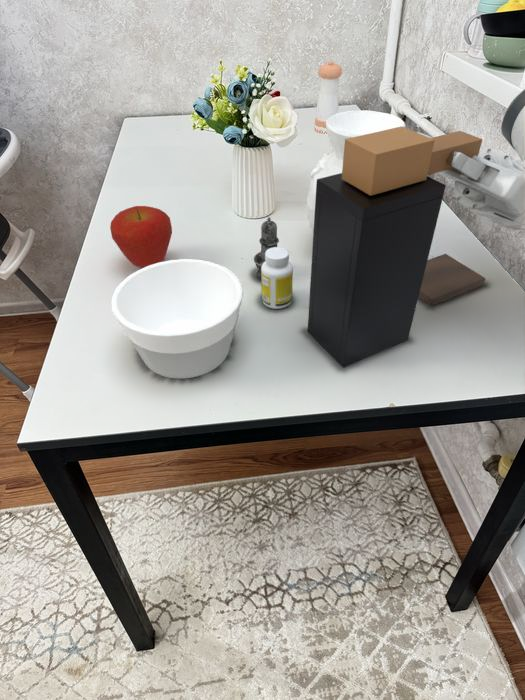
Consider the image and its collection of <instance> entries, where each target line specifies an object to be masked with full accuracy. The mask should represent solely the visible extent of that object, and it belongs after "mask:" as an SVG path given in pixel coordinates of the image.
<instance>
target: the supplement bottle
mask: <svg viewBox="0 0 525 700" xmlns="http://www.w3.org/2000/svg"><path fill="white" fill-rule="evenodd" d="M293 274H294V267H293V264H292V262H290V252H289V250H288V249H287V248H284V247H281V246H277V247H273V248H270V249H268V250H267V251H266V252H265V262H264V263H263V264H262V267H261V279H262V281H261V302H262V303H263V305H264V306H265V307H267V308H270V309H275V310H278V309H279V310H280V309H284V308H288V306H290V304H291V303H292V300H293V276H294V275H293Z"/></svg>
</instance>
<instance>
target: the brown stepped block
mask: <svg viewBox="0 0 525 700" xmlns="http://www.w3.org/2000/svg"><path fill="white" fill-rule="evenodd" d="M417 132H418V131H417ZM417 132H416V131H414V130H412V129H409V128H407V127H405V128H404V127H402V126H401V127H396V128H392V129H388V130H383V131H379V132H375V133H370V134H366V135H361V136H357V137H353V138H348V139H345V146H344V157H343V168H342V179H343V180H344V181H346V182H348V183H350V184H351V185H353V186H355V187H356V188H358V189H360V190H362V191H363V192H365V193H367V194H368V195H370V196H371V195H375V194H379V193H382V192H386V191H389V190H393V189H396V188H400V187H403V186H407V185H410V184H414V183H417V182H421V181H424V180H426V179H427V176H431V175H434V174H439V173H438V172H441V171H445V170H448V169H452V168H454V167H452V166H450V165H449V164H447V163H446V160H447V158H448V157H449V156H450V153H451V151H453V150H455V151H458V152H460V153H463V154H464V155H466V156H467V157H470V158H473V156H475V155H476V156H478V154H479V152H480V151H481V146H482V143H483V138H481V137H478V136H476V135H473V134H470V133H467V132H465V131H463V130H458V131H453V132H450V133H446V134H445V133H444V134H442V135H437V136H433V138H429V137H426V136H424V135H421V134H419V133H417Z"/></svg>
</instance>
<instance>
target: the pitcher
mask: <svg viewBox="0 0 525 700" xmlns="http://www.w3.org/2000/svg"><path fill="white" fill-rule="evenodd" d="M401 126H402V127H404V128H406V123H405V121H404V120H403V119H402V118H400V117H398V116H396V115H394V114H391V113H388V112H381V111H376V110H368V109H366V110H365V109H364V110H362V109H361V110H360V109H359V110H347V111H341V112H338V113H336V114H333V115H331V116H330V117H329V118H328V119H327V120H326V129H327V134H326V135H327V137H328V140H329V143H330V146H331V150H332V151H331V152H330V153H327V152H324V153H323V154H322V156H321V159H319V160H318V162H317V165H316V166H315V167H314V168H313V169H312V170H311V172H310V177H311V180H310V184H309V188H308V193H307V199H306V218H307V221H308V224H309V227H310V231H311V233H312V234H313V232H314V216H315V199H316V184H317V179H320V178H324V177H328V176H332V175H336V174H340V173H342V168H343V157H344V146H345V139H348V138H353V137H357V136H361V135H366V134H370V133H375V132H379V131H383V130H388V129H392V128H396V127H401Z"/></svg>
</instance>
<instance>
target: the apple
mask: <svg viewBox="0 0 525 700" xmlns="http://www.w3.org/2000/svg"><path fill="white" fill-rule="evenodd" d="M109 229H110V232H111V233H110V235H111V239H112V240H113V241H114V243H115V245H116V246H117V248H118V249H119V251H121V253H122V254H123V256H124V257H125V258H126V259H127V260H128V261H129V262H130V264H131V265H133V266H134V267H138V268H140V269H142V268H144V267H147V266H149V265H152V264H156V263H159V262H164V261H165V259H166V255H167V252H168V250H169V246H170V243H171V238H172V235H173V226H172V221H171V217H170V216H169V215H168V214H167V213H166V212H164V211H163V210H162V209H160V208H157V207H153V206H147V205H135V206H132V207H127V208H125V209H123V210H120V211H119V212H118V213H117V214H115V216H114V217H113V218H112V220H111V221H110V227H109Z"/></svg>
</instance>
